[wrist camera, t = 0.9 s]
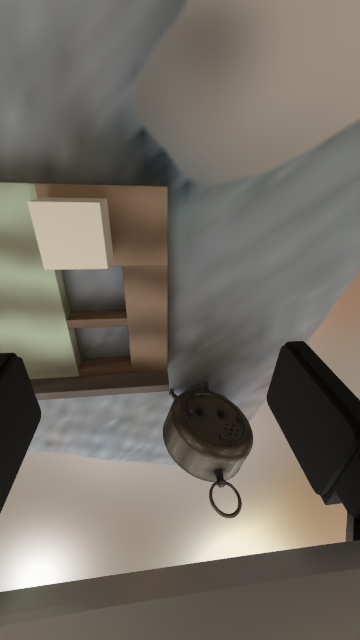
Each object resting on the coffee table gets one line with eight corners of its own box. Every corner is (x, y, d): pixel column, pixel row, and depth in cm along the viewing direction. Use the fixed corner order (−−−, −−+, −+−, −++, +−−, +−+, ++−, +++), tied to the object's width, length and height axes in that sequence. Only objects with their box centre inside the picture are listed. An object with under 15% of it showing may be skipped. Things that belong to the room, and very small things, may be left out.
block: (46, 197, 21) (27, 201, 18) (107, 198, 22) (99, 202, 18) (59, 256, 24) (44, 269, 20) (113, 255, 24) (107, 268, 21)
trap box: (-96, 179, 21) (-150, 180, 17) (165, 186, 23) (169, 188, 20) (-6, 376, 32) (-27, 404, 28) (166, 366, 34) (168, 390, 31)
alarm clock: (159, 397, 37) (167, 530, 23) (170, 370, 35) (186, 500, 21) (224, 407, 40) (266, 531, 26) (239, 383, 38) (293, 505, 24)
